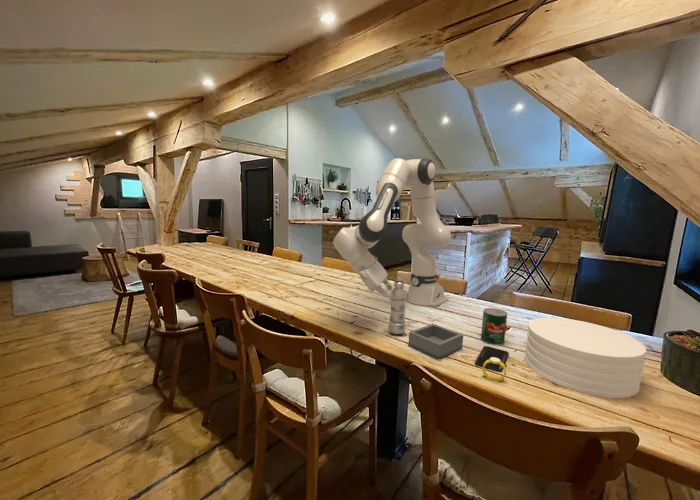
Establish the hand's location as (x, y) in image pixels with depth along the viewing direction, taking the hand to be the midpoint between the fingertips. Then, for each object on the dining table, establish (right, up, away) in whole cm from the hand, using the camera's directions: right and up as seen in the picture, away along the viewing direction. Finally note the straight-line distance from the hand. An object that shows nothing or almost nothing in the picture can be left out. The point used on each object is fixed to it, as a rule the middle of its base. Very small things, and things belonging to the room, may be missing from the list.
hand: (389, 292), depth 117 cm
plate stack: (+54, -21, -22) cm, 62 cm away
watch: (+26, -21, -29) cm, 44 cm away
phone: (+31, -20, -17) cm, 40 cm away
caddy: (+15, -18, -10) cm, 25 cm away
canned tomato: (+37, -17, -3) cm, 41 cm away
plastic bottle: (+3, -16, +1) cm, 16 cm away
